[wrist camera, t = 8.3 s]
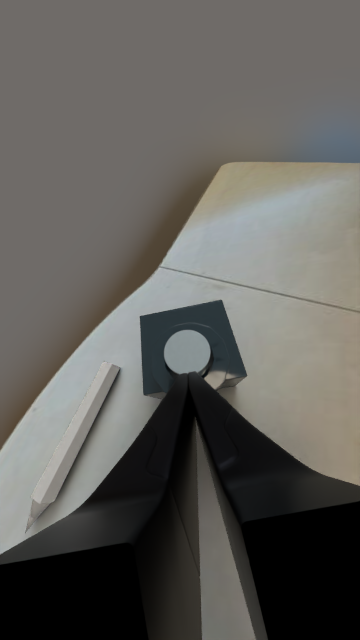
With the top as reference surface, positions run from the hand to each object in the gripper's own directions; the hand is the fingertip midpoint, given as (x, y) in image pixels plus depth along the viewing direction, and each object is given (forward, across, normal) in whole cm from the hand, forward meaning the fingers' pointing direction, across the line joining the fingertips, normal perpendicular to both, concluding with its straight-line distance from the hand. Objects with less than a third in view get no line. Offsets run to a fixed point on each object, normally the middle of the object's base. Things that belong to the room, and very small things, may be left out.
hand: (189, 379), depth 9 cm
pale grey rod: (+8, +14, +10) cm, 19 cm away
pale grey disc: (+5, 0, +2) cm, 6 cm away
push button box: (+12, 0, +6) cm, 13 cm away
